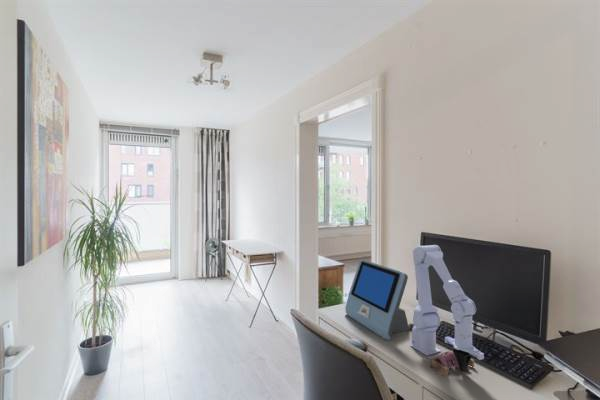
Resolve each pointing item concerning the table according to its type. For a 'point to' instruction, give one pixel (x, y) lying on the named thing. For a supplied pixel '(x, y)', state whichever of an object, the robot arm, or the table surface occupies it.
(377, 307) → the touchscreen device
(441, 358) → the video game controller
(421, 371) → the table surface
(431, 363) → the docking cradle
